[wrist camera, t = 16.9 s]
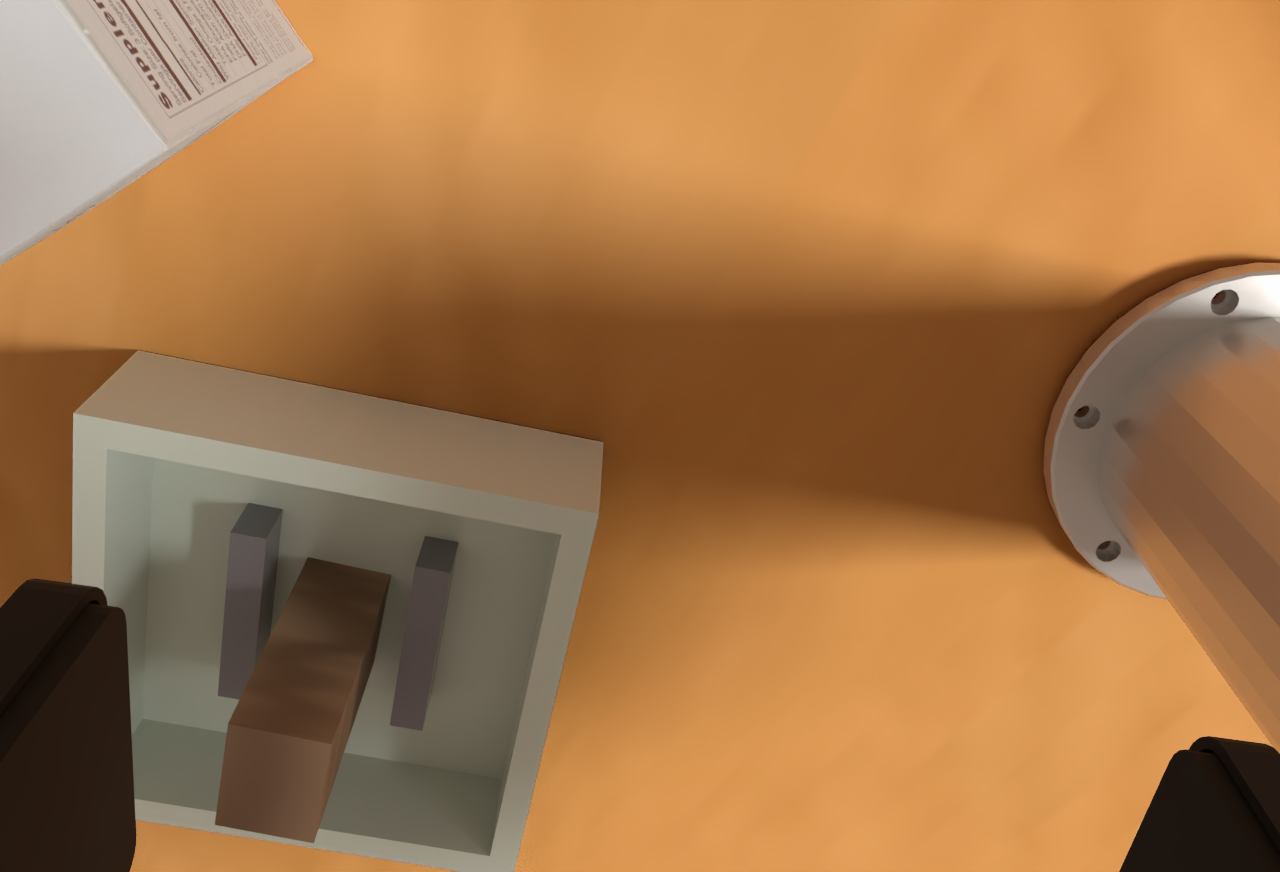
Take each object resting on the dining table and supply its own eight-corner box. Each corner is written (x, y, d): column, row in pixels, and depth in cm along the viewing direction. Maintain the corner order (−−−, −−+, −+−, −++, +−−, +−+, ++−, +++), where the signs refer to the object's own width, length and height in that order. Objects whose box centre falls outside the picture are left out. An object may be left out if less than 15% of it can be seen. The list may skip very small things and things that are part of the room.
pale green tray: (603, 442, 41) (599, 513, 36) (524, 784, 48) (512, 879, 43) (137, 349, 39) (73, 413, 35) (125, 717, 46) (70, 809, 42)
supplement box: (135, 181, 37) (-91, 323, 25) (-33, -40, 34) (-371, 9, 23) (325, 62, 35) (176, 156, 24) (167, -181, 32) (-90, -204, 21)
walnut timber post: (391, 574, 42) (331, 744, 34) (374, 661, 44) (313, 843, 36) (307, 556, 42) (227, 723, 34) (293, 645, 43) (214, 824, 35)
